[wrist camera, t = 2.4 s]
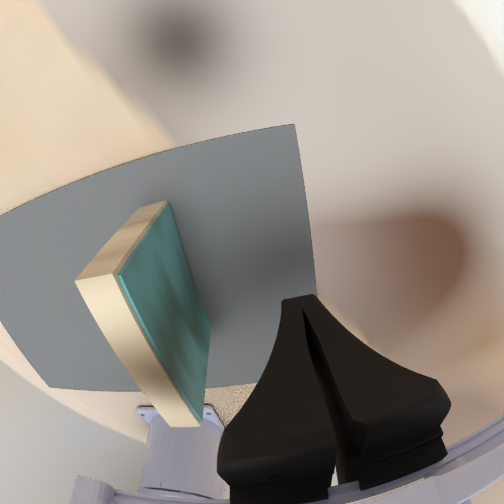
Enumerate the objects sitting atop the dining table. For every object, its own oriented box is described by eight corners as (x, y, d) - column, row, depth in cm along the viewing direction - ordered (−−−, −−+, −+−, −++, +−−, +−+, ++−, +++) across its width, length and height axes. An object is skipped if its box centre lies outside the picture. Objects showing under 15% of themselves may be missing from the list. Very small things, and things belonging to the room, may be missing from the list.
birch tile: (212, 328, 19) (203, 426, 12) (187, 331, 19) (170, 427, 12) (169, 199, 15) (116, 272, 8) (139, 206, 15) (74, 281, 8)
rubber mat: (320, 366, 22) (321, 370, 21) (51, 384, 23) (49, 387, 23) (292, 123, 14) (294, 124, 13) (-37, 237, 15) (-41, 239, 15)
